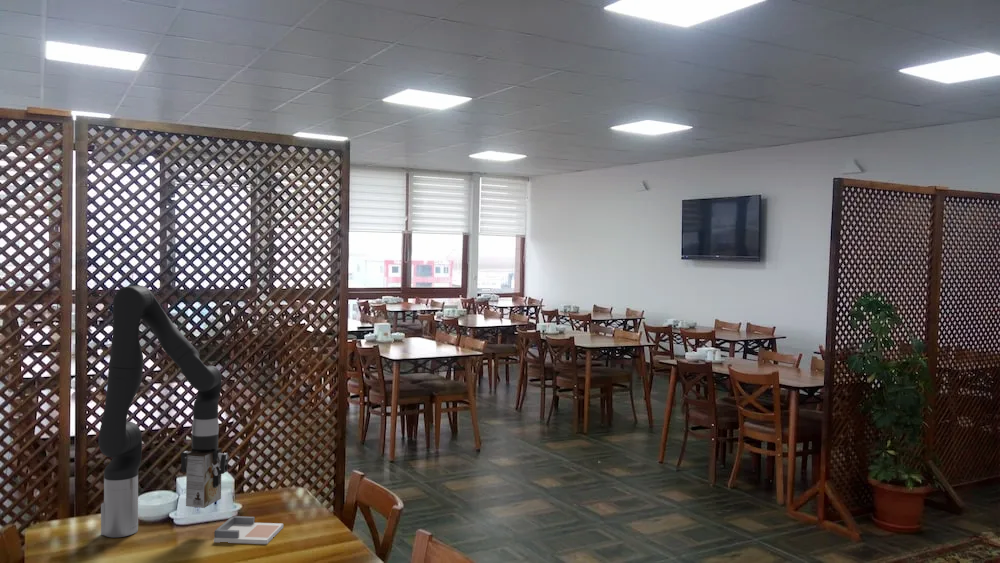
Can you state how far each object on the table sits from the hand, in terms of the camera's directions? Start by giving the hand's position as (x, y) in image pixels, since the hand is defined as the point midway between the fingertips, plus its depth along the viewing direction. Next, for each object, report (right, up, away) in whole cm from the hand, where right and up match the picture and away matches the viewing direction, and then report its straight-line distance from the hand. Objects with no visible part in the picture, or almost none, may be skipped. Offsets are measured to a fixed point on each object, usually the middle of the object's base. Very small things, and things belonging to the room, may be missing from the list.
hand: (204, 486), depth 229 cm
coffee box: (0, -5, 0) cm, 5 cm away
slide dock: (+14, -14, -1) cm, 20 cm away
